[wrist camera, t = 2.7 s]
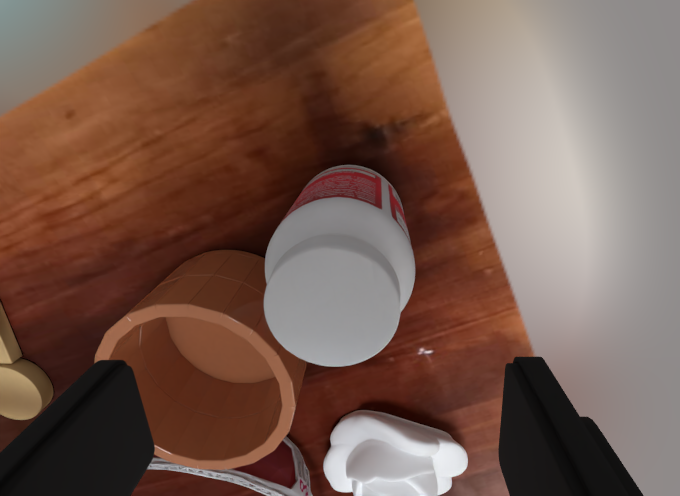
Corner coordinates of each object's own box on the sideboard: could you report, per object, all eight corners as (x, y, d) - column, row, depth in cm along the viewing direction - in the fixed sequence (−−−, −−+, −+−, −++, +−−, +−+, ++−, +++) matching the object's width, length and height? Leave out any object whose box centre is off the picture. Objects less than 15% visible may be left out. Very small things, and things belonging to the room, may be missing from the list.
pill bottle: (277, 219, 25) (205, 314, 14) (344, 139, 23) (316, 183, 12) (355, 283, 26) (341, 413, 15) (425, 212, 24) (463, 308, 13)
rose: (447, 430, 24) (498, 540, 27) (437, 379, 28) (481, 479, 31) (294, 472, 26) (356, 569, 29) (305, 419, 30) (358, 509, 33)
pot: (144, 252, 26) (67, 306, 20) (306, 246, 25) (281, 302, 19) (178, 385, 30) (123, 468, 23) (320, 385, 29) (304, 472, 22)
